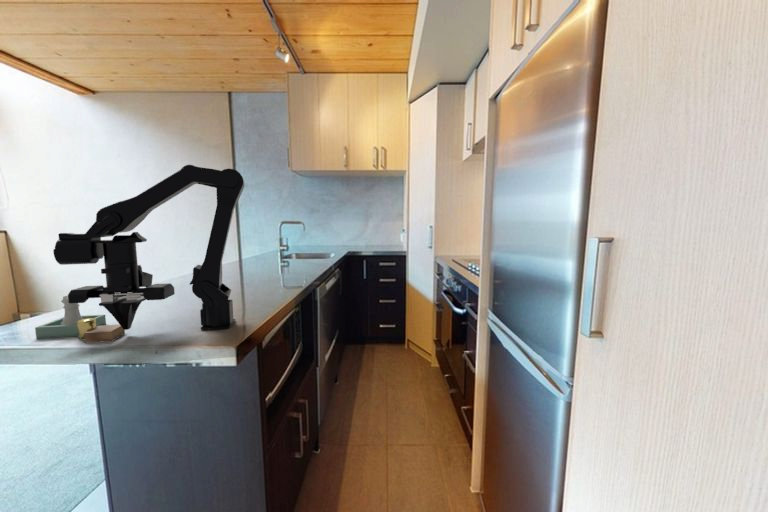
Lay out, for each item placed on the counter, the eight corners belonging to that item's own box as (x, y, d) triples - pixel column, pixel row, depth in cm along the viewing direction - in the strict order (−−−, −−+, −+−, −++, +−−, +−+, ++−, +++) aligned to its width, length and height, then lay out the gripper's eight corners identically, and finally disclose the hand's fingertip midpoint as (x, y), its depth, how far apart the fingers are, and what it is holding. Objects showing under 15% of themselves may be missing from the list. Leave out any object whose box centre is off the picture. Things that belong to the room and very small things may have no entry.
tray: (106, 324, 81) (105, 314, 80) (80, 335, 72) (79, 325, 72) (66, 325, 79) (65, 316, 79) (36, 338, 70) (35, 327, 70)
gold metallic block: (100, 334, 73) (98, 317, 73) (91, 339, 70) (89, 321, 70) (85, 335, 73) (83, 318, 72) (75, 340, 70) (73, 322, 69)
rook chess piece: (69, 332, 73) (66, 298, 72) (55, 331, 74) (51, 297, 73) (91, 326, 77) (88, 294, 76) (77, 324, 78) (74, 293, 77)
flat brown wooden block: (124, 334, 74) (124, 324, 74) (112, 342, 69) (111, 331, 69) (99, 336, 73) (98, 325, 73) (85, 344, 68) (84, 333, 68)
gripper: (182, 257, 81) (186, 316, 82) (98, 259, 77) (104, 320, 79) (160, 263, 70) (165, 331, 72) (62, 265, 66) (69, 336, 68)
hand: (127, 329), depth 73 cm, fingers closed
